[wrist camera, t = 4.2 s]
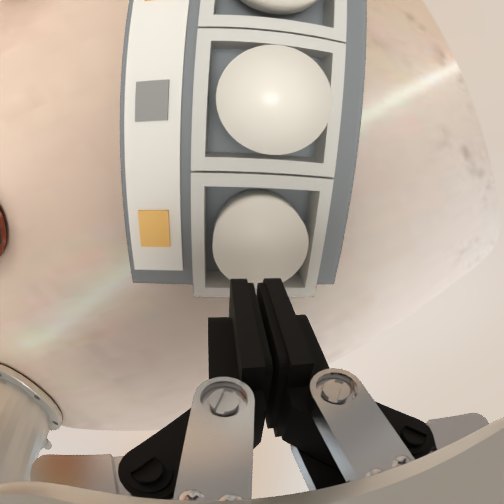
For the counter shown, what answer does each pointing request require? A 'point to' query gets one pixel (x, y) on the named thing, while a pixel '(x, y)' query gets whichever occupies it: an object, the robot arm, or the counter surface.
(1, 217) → the supplement bottle
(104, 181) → the counter surface
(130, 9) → the panel
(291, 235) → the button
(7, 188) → the counter surface
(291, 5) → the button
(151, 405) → the counter surface
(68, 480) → the robot arm
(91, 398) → the counter surface
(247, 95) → the button middle
